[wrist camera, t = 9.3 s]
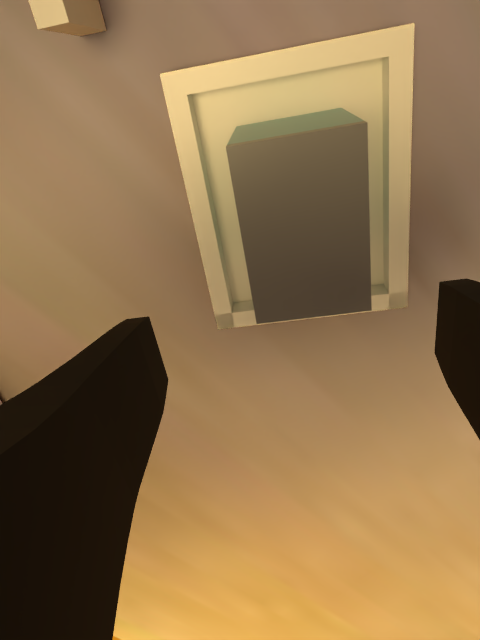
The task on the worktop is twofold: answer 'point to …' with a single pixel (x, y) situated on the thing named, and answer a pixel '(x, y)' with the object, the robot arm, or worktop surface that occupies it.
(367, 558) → the worktop surface
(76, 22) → the bay
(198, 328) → the worktop surface
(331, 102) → the tray
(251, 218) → the tall grey-green carton
